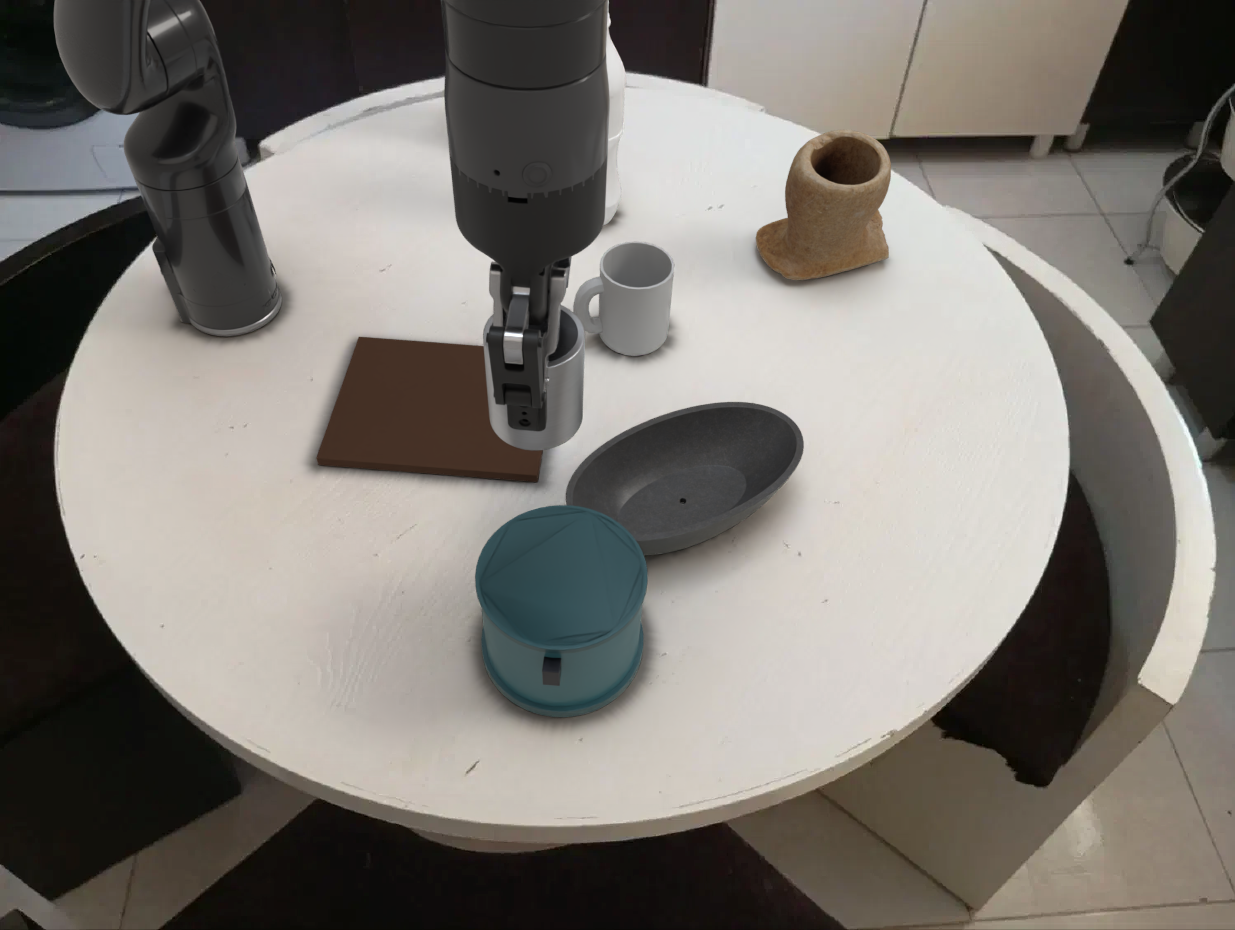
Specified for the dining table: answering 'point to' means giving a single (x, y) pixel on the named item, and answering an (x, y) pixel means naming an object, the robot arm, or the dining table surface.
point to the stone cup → (830, 208)
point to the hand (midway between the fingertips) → (535, 385)
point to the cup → (630, 298)
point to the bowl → (689, 472)
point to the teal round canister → (561, 609)
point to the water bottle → (614, 124)
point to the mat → (420, 414)
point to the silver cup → (548, 389)
